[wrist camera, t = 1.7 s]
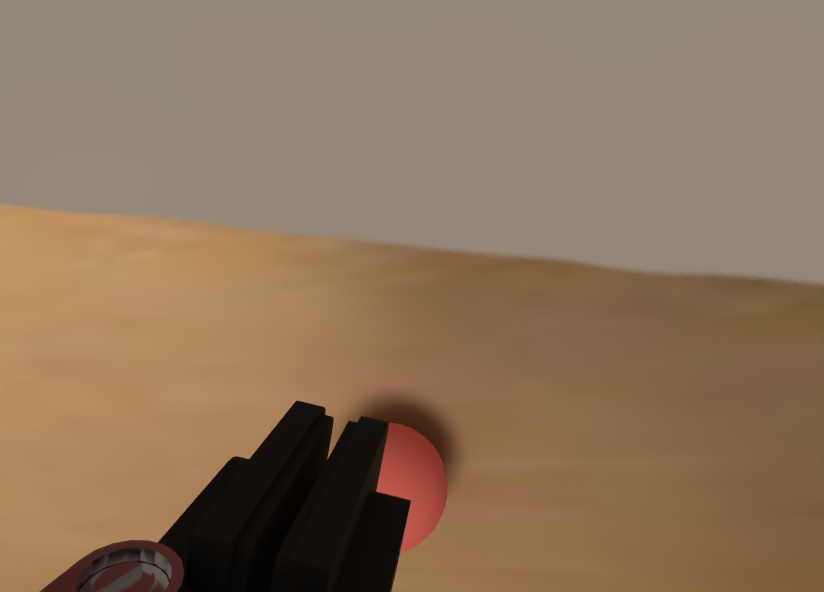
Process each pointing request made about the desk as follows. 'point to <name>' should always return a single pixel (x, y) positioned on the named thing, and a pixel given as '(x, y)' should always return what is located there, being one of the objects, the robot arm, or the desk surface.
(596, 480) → the desk surface
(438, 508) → the ball
